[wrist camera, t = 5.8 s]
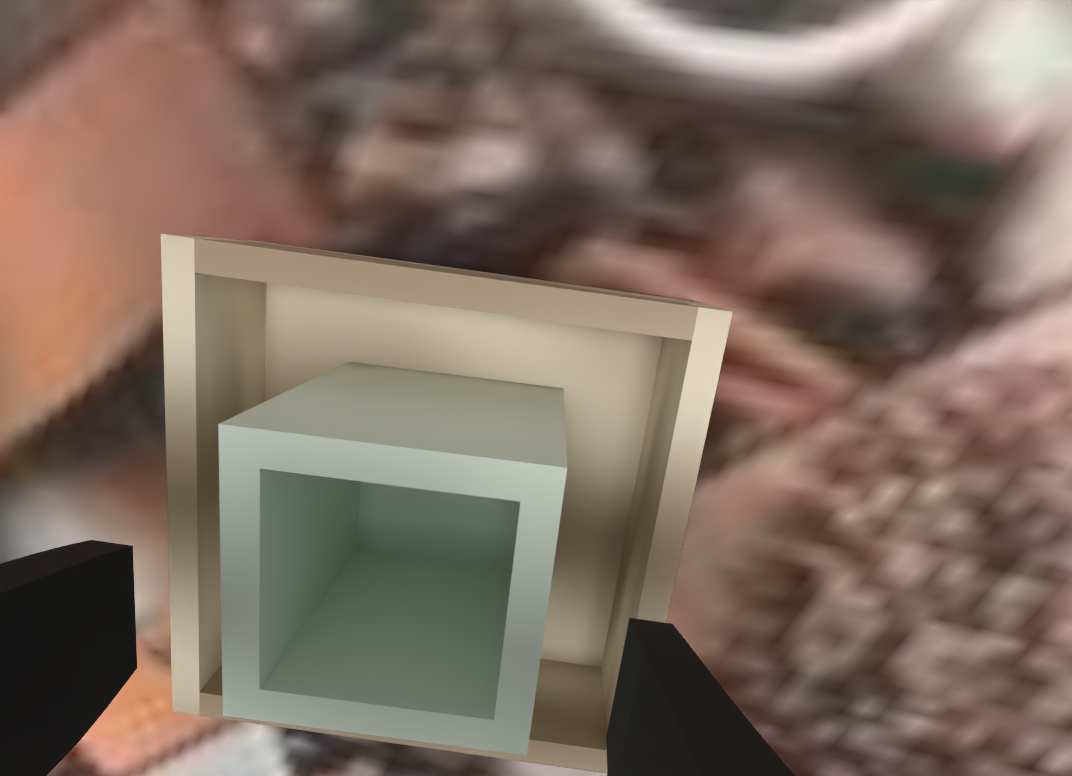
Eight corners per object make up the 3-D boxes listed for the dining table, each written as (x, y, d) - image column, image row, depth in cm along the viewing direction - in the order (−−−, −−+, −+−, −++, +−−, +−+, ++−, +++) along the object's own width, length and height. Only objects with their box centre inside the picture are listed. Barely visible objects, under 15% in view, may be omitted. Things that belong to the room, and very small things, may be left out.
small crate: (537, 580, 14) (526, 755, 9) (341, 555, 14) (222, 715, 9) (563, 388, 13) (567, 467, 8) (349, 361, 13) (218, 423, 8)
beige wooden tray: (617, 675, 15) (633, 777, 12) (248, 623, 15) (172, 712, 12) (691, 299, 12) (732, 311, 10) (252, 240, 13) (160, 233, 10)
